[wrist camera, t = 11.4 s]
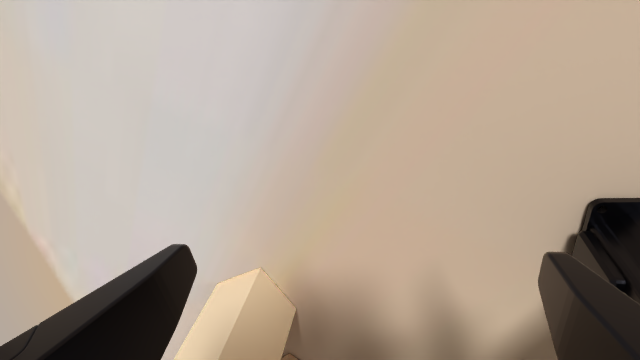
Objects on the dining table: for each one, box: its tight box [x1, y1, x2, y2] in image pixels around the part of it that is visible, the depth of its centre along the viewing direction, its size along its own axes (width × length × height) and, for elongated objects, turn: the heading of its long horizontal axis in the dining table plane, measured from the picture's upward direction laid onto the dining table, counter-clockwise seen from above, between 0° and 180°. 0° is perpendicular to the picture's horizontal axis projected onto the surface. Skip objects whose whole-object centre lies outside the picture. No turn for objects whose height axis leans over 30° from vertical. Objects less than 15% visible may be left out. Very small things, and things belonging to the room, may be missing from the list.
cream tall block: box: [174, 267, 296, 360], centre depth 26 cm, size 5×5×11 cm
